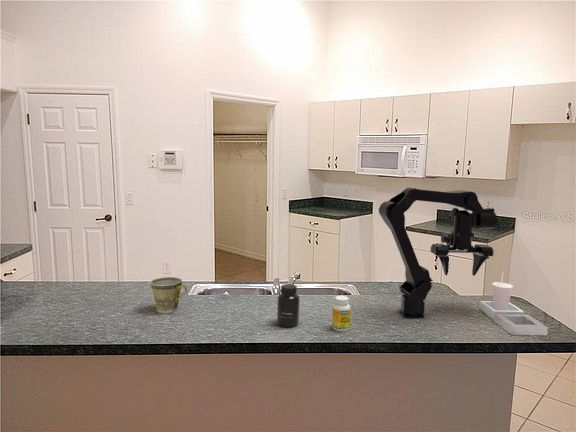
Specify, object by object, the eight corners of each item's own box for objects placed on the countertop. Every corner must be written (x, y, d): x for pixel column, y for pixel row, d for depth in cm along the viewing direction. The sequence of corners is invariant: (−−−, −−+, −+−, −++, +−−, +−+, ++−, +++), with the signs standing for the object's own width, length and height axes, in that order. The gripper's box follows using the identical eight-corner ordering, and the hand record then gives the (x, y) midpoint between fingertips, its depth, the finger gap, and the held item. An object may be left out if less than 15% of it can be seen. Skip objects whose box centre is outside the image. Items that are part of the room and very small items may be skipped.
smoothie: (505, 309, 140) (509, 269, 138) (514, 316, 134) (518, 275, 132) (486, 309, 140) (489, 269, 139) (493, 316, 134) (497, 274, 132)
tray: (493, 320, 132) (494, 311, 132) (479, 309, 142) (480, 301, 141) (523, 320, 132) (524, 311, 132) (507, 309, 142) (508, 301, 141)
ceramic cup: (144, 312, 134) (143, 283, 133) (164, 303, 144) (163, 275, 142) (177, 318, 130) (176, 288, 128) (195, 308, 139) (195, 279, 137)
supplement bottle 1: (283, 329, 122) (283, 290, 121) (273, 321, 128) (273, 284, 127) (303, 325, 126) (303, 287, 124) (292, 318, 132) (293, 281, 130)
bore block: (511, 335, 121) (512, 327, 120) (493, 321, 131) (494, 313, 131) (546, 335, 121) (547, 327, 121) (526, 321, 131) (527, 314, 131)
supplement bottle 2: (342, 323, 128) (342, 293, 126) (353, 329, 123) (354, 298, 122) (328, 327, 125) (329, 296, 124) (340, 333, 120) (341, 301, 119)
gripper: (479, 225, 143) (476, 269, 145) (426, 224, 142) (423, 268, 144) (496, 230, 131) (492, 278, 134) (438, 230, 131) (435, 277, 133)
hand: (459, 275), depth 137 cm, fingers open, 9 cm apart
